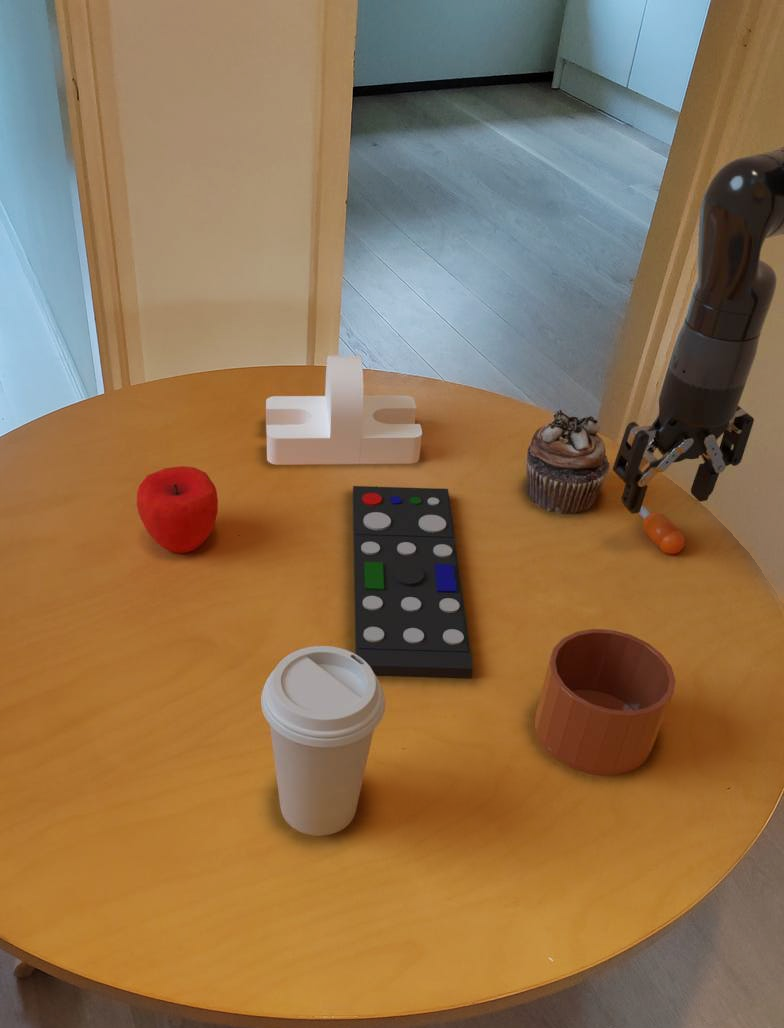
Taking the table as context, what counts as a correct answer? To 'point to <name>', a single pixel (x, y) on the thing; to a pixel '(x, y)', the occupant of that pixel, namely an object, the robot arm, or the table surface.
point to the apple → (178, 507)
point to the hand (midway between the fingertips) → (664, 503)
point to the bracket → (342, 423)
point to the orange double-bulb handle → (662, 531)
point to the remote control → (408, 584)
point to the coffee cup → (321, 734)
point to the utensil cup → (603, 701)
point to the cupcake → (566, 464)
